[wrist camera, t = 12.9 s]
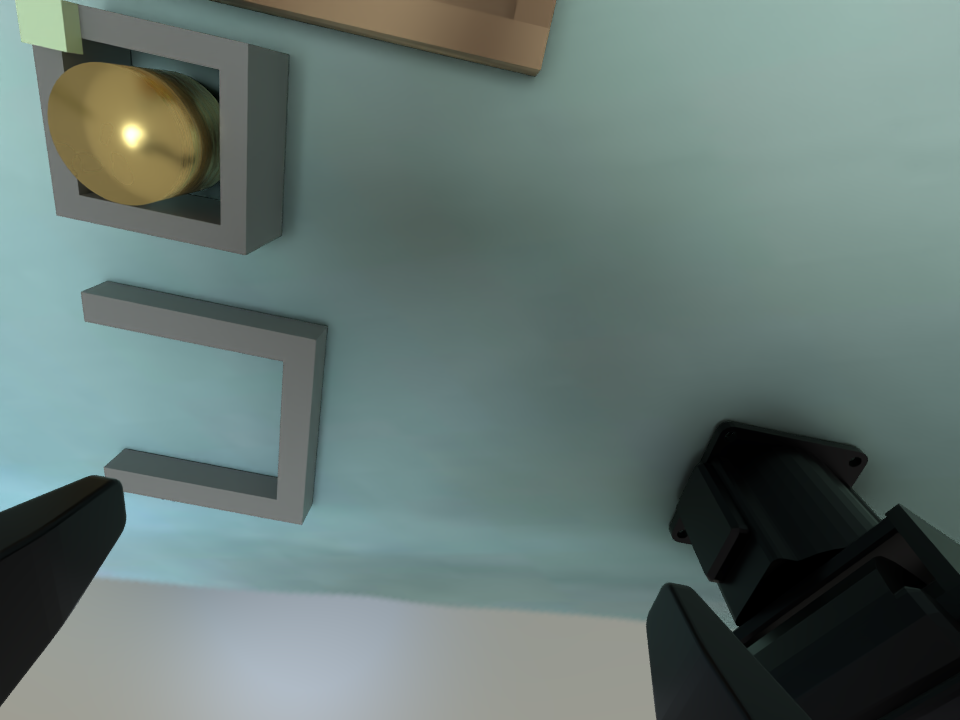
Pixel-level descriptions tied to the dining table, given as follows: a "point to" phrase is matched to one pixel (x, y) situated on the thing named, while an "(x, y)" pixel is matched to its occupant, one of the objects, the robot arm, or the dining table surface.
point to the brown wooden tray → (434, 25)
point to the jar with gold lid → (135, 131)
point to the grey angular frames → (201, 221)
